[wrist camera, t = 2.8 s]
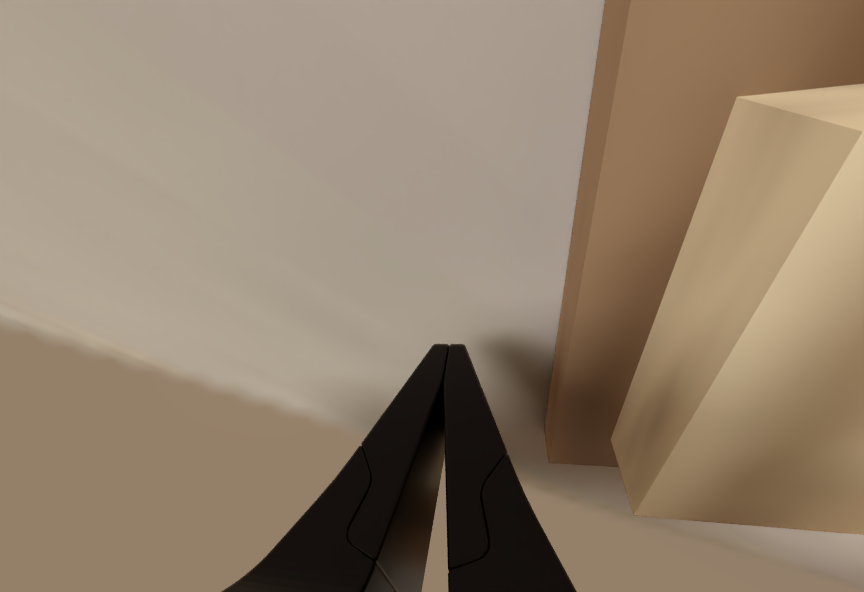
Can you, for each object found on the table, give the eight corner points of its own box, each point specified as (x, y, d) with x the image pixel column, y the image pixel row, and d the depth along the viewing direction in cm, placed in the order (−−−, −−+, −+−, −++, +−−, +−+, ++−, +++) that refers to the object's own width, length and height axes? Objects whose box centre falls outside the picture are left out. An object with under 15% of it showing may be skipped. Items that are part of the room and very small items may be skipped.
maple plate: (1219, 46, 5) (1719, 59, 3) (801, 448, 11) (867, 534, 10) (736, 96, 6) (862, 131, 4) (610, 439, 12) (633, 515, 11)
